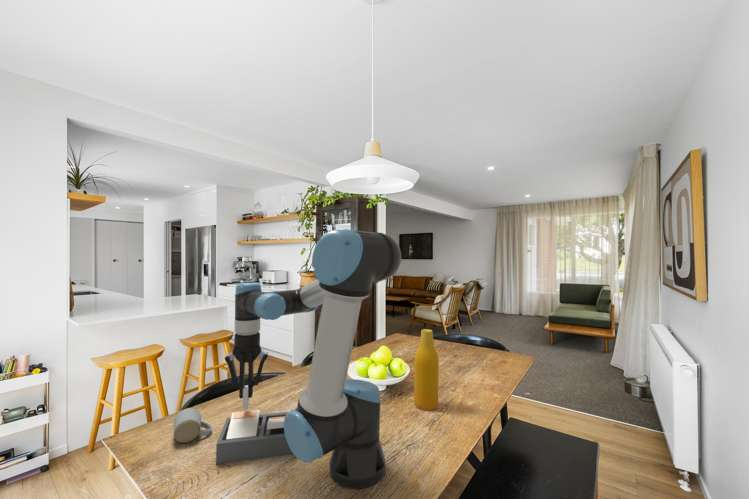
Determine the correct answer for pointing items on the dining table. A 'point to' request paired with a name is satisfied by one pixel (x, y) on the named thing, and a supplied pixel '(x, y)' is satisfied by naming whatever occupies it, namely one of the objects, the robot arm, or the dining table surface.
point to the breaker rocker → (243, 425)
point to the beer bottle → (426, 373)
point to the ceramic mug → (189, 425)
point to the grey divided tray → (255, 441)
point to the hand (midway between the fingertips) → (245, 407)
